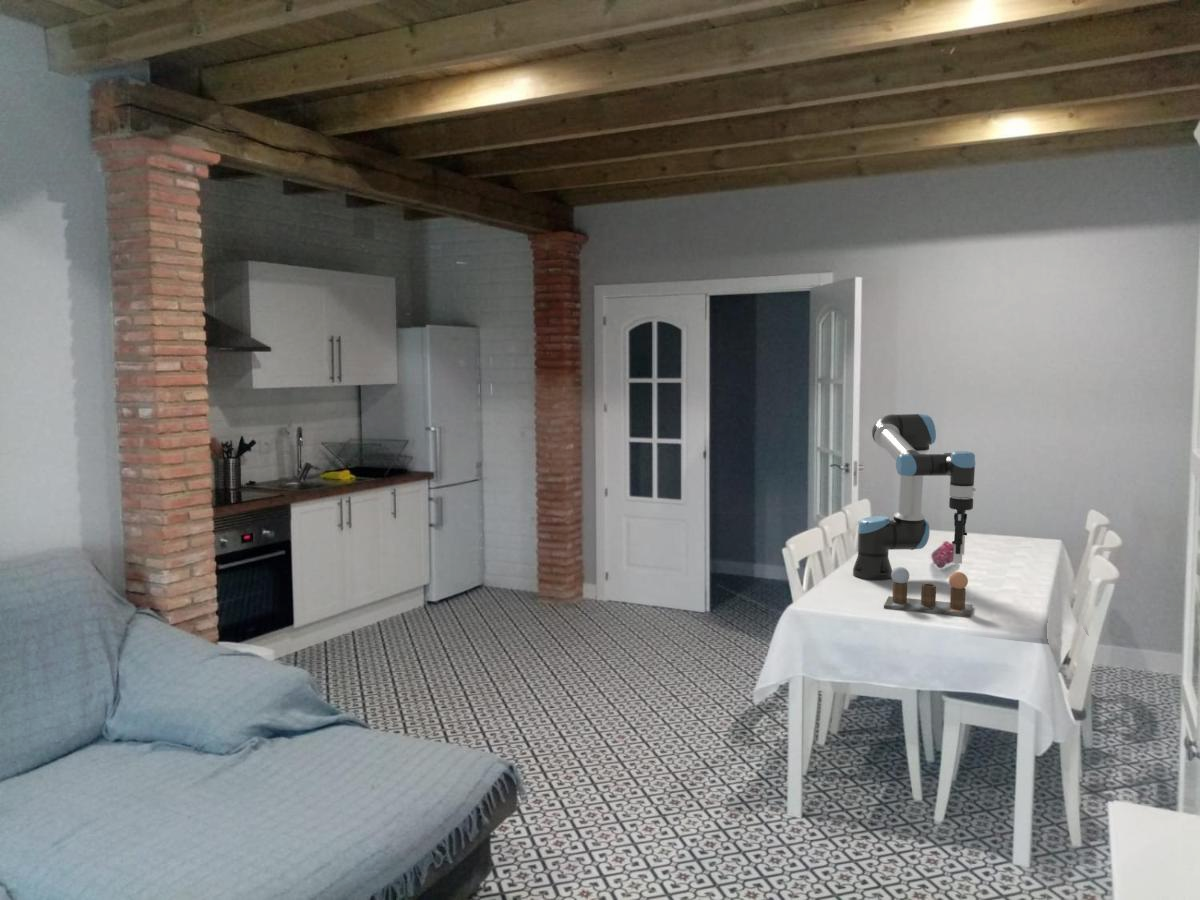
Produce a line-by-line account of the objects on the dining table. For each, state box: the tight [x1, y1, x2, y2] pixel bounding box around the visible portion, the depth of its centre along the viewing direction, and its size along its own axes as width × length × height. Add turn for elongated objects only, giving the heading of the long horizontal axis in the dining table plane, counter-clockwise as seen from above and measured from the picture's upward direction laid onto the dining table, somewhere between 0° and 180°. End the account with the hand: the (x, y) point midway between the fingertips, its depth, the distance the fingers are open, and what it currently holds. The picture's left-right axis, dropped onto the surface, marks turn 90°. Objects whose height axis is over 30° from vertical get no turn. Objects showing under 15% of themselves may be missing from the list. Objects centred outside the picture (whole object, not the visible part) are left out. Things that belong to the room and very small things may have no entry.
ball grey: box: [891, 566, 910, 584], centre depth 321 cm, size 6×6×6 cm
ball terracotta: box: [948, 571, 969, 589], centre depth 313 cm, size 6×6×6 cm
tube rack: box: [883, 581, 973, 618], centre depth 318 cm, size 28×13×8 cm, turn 65°
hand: (958, 558), depth 313 cm, fingers open, 13 cm apart
